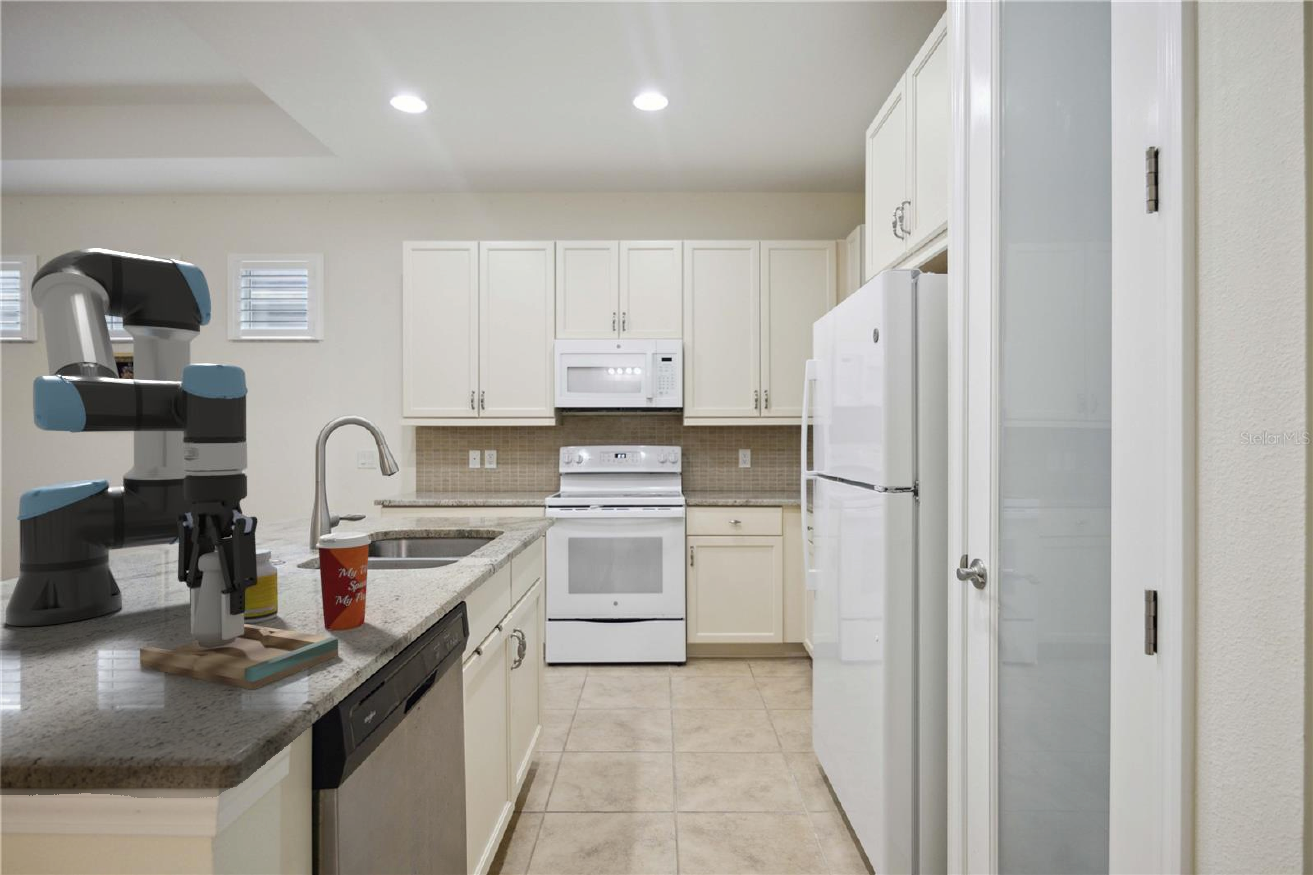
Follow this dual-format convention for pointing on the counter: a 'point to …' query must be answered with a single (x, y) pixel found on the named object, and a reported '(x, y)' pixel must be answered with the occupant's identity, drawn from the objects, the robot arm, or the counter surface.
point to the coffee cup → (343, 578)
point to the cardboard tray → (245, 657)
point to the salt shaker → (210, 604)
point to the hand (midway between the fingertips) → (217, 633)
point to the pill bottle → (262, 591)
